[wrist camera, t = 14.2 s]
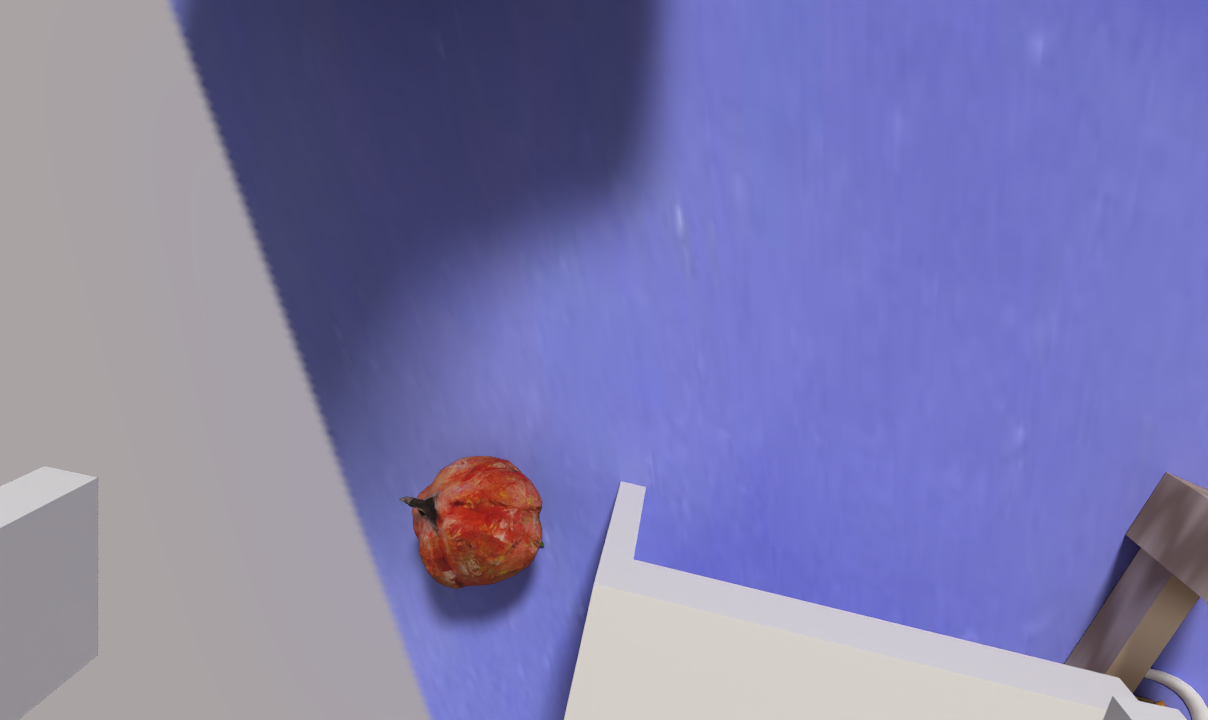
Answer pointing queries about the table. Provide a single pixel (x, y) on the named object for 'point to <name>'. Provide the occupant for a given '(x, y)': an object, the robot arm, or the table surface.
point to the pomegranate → (477, 522)
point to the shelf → (789, 656)
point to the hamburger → (1200, 714)
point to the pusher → (1151, 585)
